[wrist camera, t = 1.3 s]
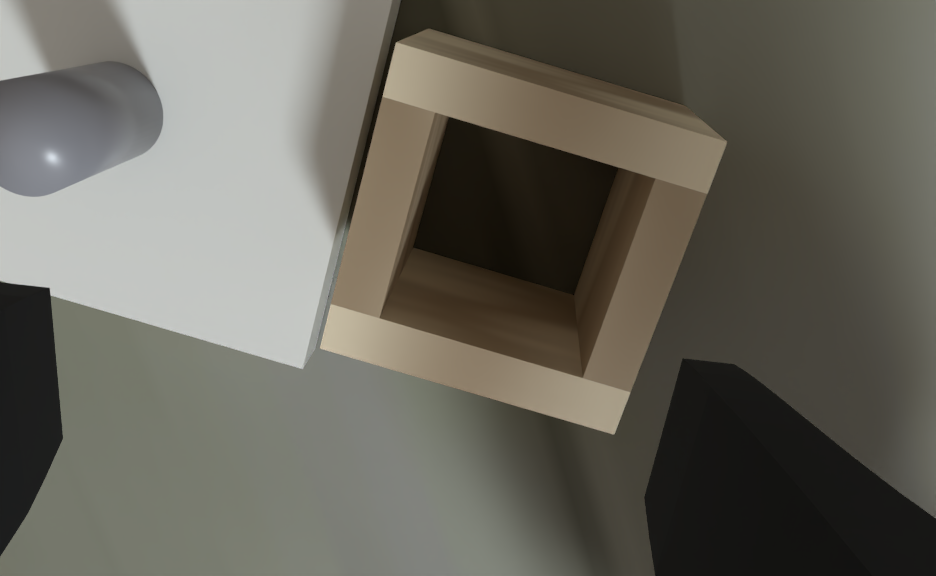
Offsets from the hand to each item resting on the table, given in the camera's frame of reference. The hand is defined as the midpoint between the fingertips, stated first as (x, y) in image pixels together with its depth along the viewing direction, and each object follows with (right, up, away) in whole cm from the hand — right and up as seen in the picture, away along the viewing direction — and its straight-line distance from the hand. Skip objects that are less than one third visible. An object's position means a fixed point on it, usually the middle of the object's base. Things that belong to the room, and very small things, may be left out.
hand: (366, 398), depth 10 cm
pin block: (-6, +5, +9) cm, 12 cm away
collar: (+2, +3, +9) cm, 10 cm away
